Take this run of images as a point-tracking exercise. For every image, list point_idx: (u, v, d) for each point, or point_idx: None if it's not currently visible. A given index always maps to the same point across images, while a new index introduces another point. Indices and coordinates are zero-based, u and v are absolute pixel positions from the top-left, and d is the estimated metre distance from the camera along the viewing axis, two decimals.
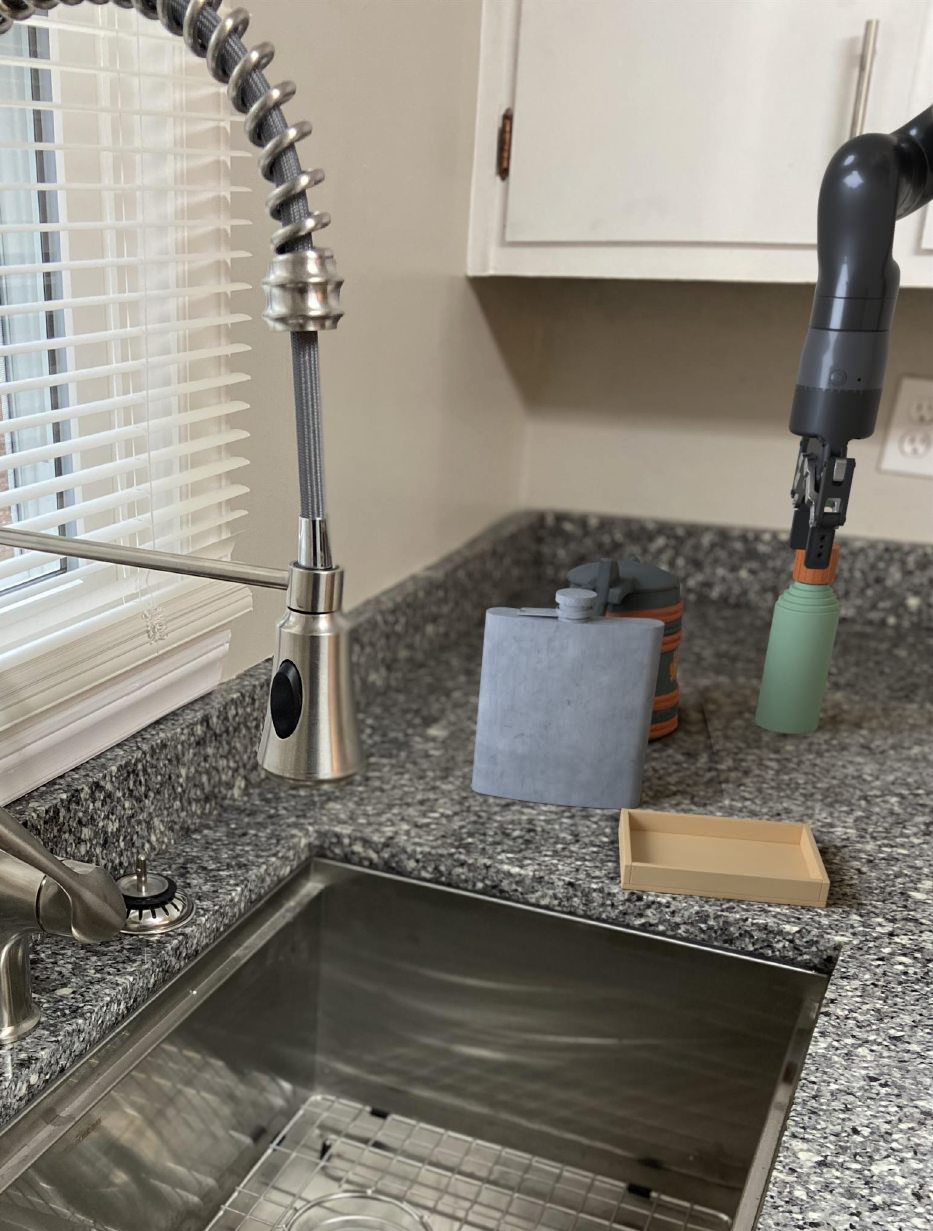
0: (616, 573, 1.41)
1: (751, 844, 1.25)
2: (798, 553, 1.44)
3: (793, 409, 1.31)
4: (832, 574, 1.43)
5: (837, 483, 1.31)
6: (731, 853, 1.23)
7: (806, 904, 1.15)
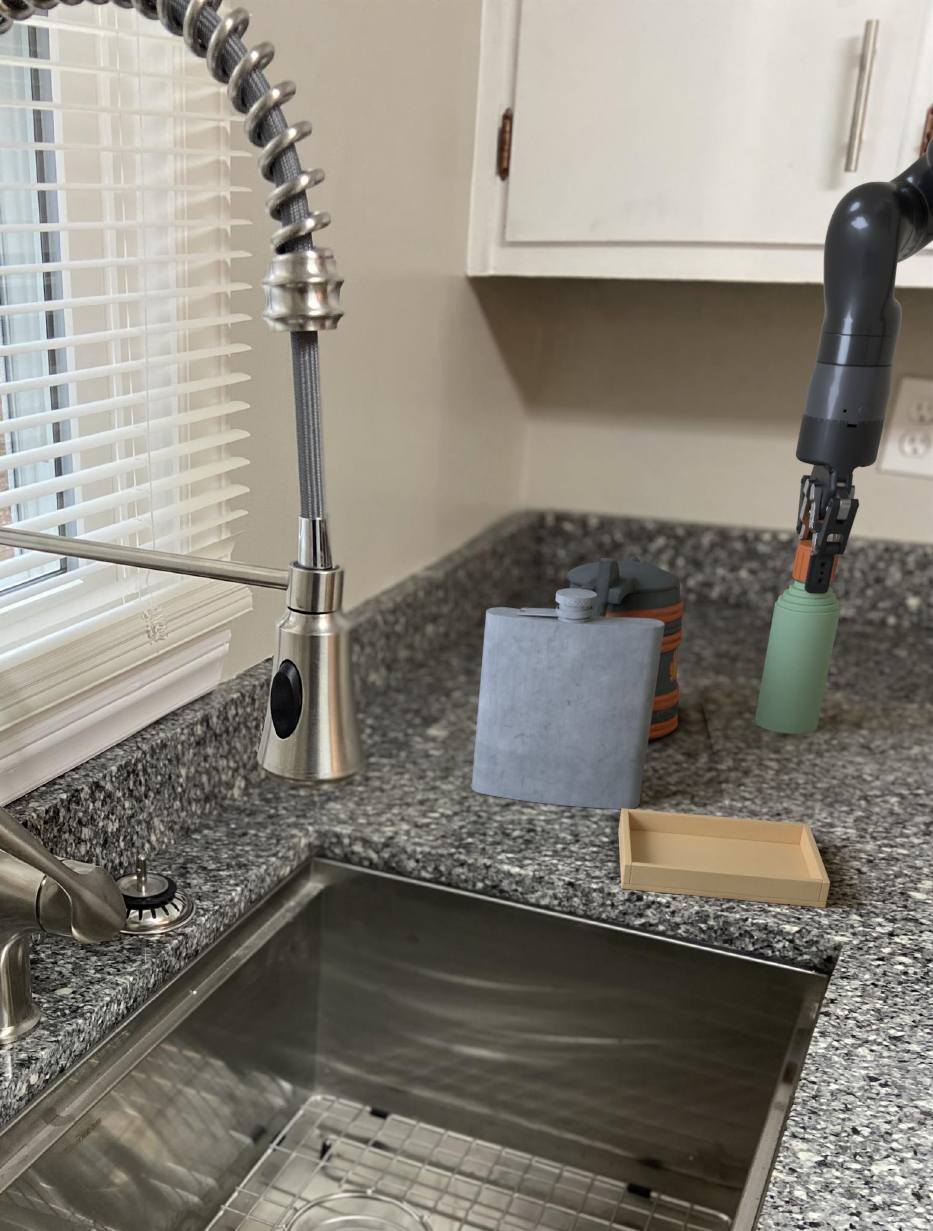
0: (616, 573, 1.41)
1: (751, 844, 1.25)
2: None
3: None
4: None
5: None
6: (731, 853, 1.23)
7: (806, 904, 1.15)
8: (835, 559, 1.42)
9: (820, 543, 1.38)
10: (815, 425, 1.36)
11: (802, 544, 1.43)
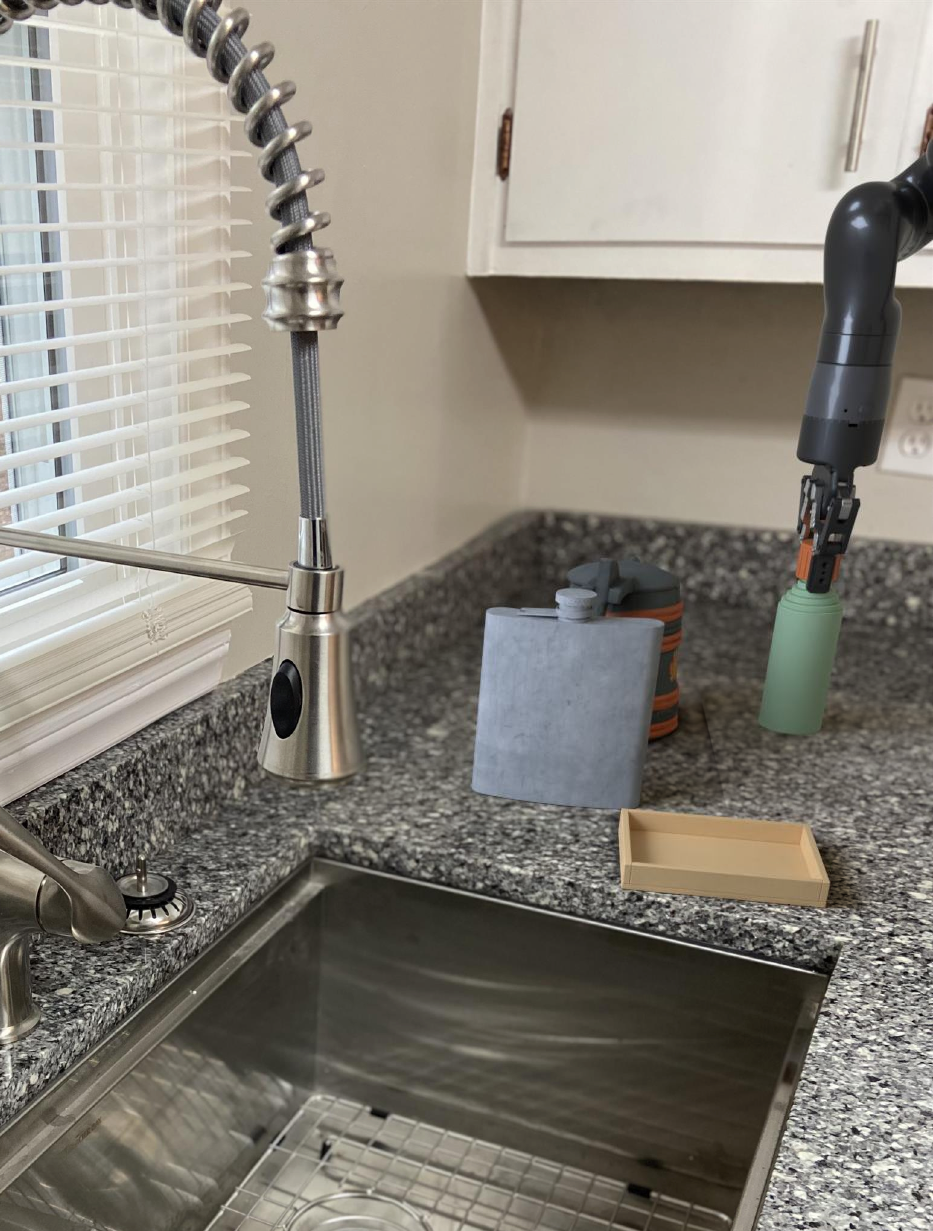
0: (616, 573, 1.41)
1: (751, 844, 1.25)
2: None
3: None
4: None
5: None
6: (731, 853, 1.23)
7: (806, 904, 1.15)
8: None
9: (821, 543, 1.38)
10: (816, 425, 1.36)
11: None
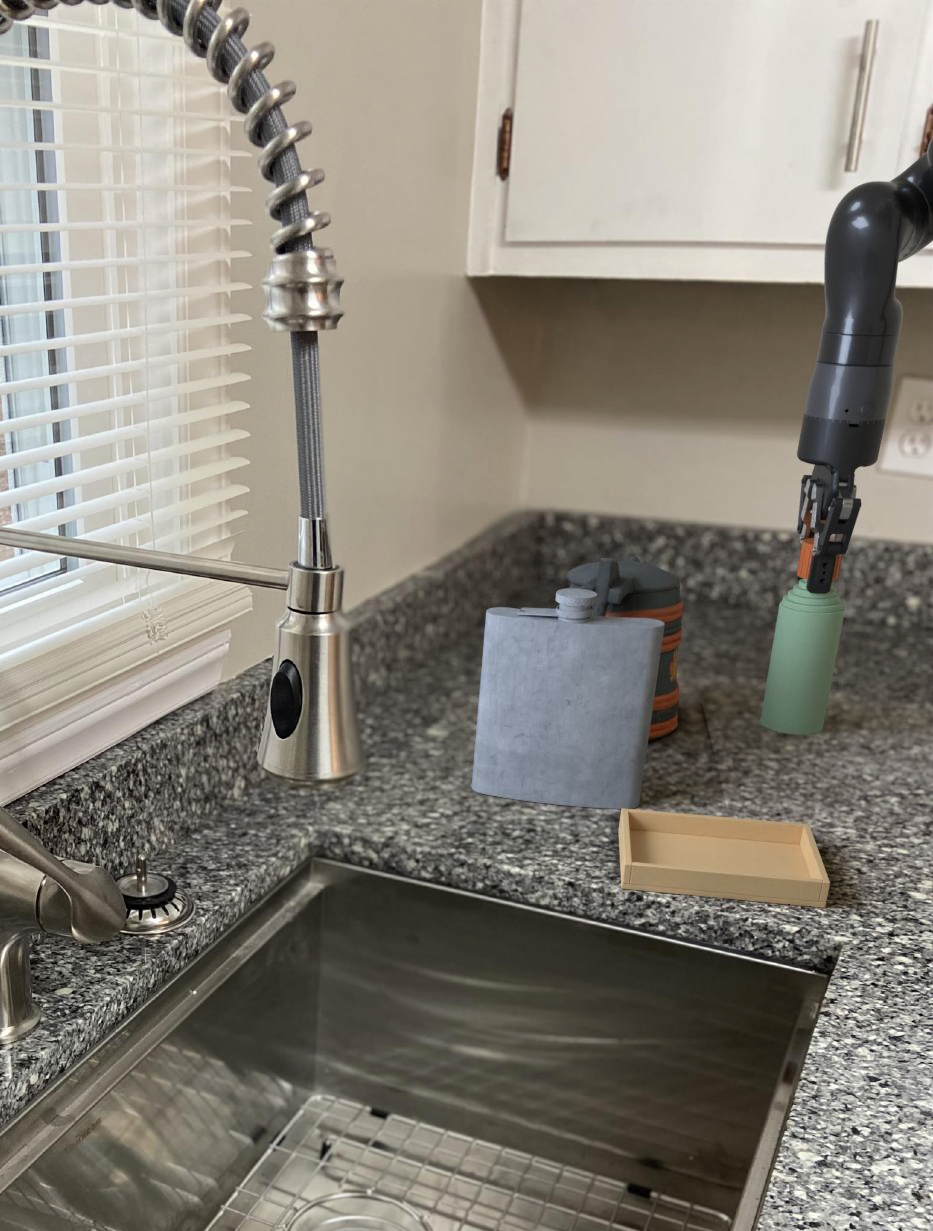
0: (616, 573, 1.41)
1: (751, 844, 1.25)
2: None
3: None
4: None
5: None
6: (731, 853, 1.23)
7: (806, 904, 1.15)
8: None
9: (822, 543, 1.38)
10: (817, 425, 1.36)
11: None
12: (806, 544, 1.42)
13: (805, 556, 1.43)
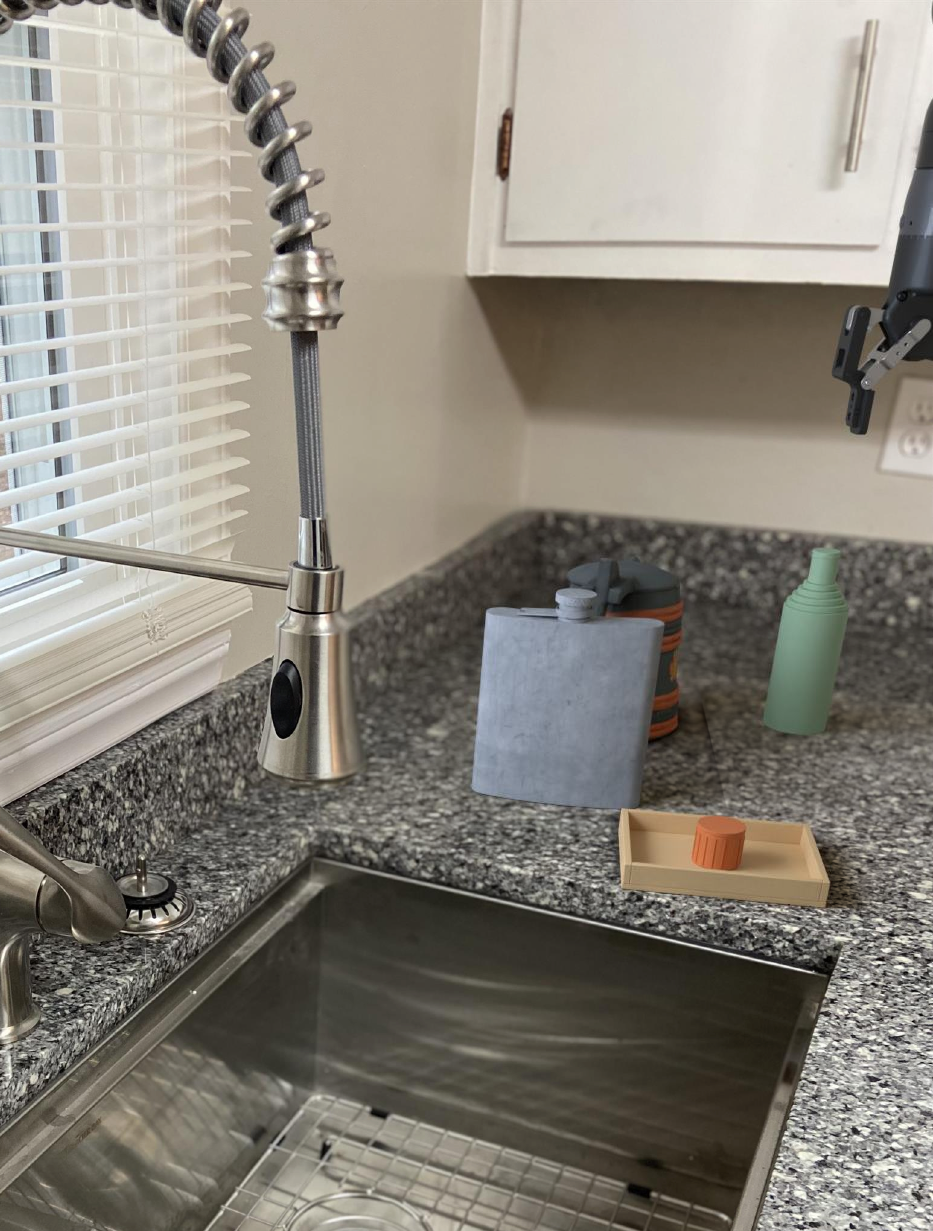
0: (616, 573, 1.41)
1: (751, 844, 1.25)
2: None
3: None
4: (694, 846, 1.22)
5: (895, 342, 1.20)
6: None
7: (806, 904, 1.15)
8: None
9: None
10: None
11: (734, 832, 1.19)
12: None
13: None
